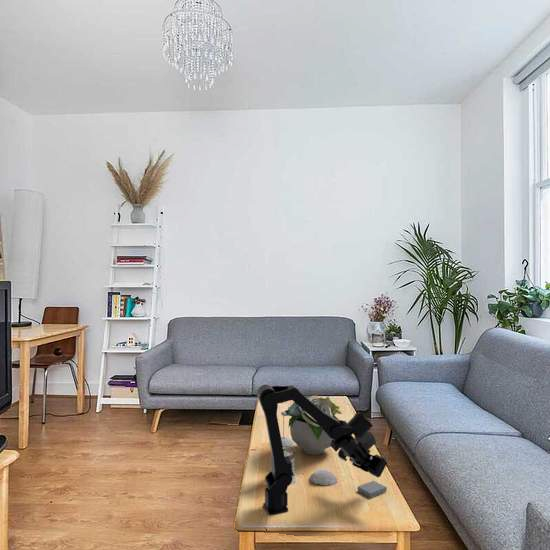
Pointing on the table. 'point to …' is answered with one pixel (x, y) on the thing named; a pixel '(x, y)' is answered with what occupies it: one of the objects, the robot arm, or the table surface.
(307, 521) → the table surface
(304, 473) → the table surface
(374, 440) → the robot arm
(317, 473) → the seashell
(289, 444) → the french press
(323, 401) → the flower arrangement
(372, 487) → the glazed tile
